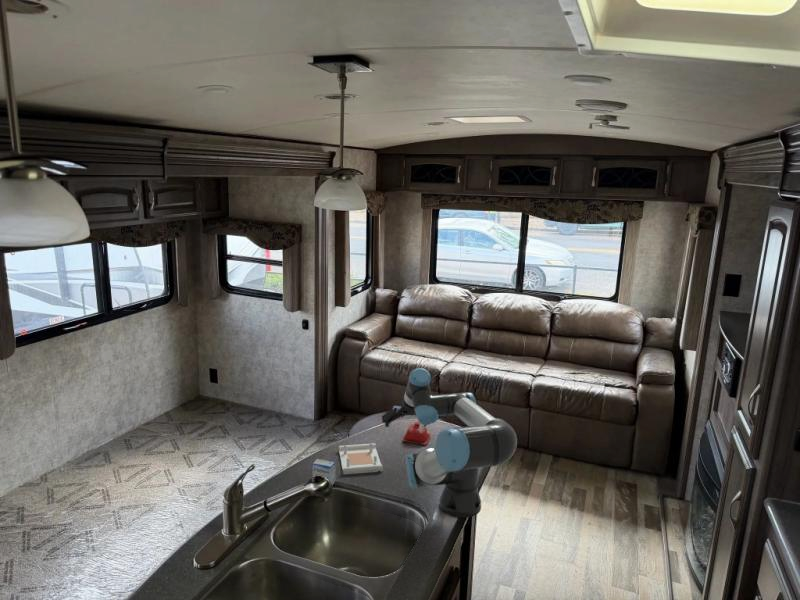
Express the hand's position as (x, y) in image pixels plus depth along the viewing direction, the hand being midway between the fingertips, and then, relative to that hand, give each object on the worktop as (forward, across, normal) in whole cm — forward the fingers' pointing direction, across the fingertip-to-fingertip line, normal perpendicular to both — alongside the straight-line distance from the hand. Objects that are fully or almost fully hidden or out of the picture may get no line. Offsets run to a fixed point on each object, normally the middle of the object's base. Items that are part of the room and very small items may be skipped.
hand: (404, 430), depth 223 cm
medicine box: (+13, +32, +15) cm, 37 cm away
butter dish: (+29, -12, -12) cm, 34 cm away
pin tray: (+21, +16, +2) cm, 26 cm away
